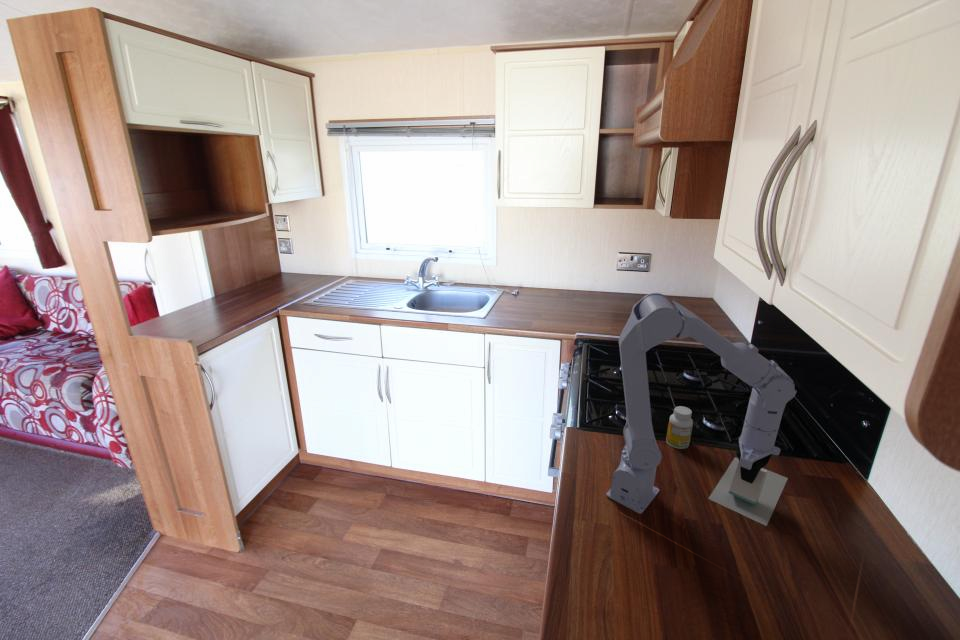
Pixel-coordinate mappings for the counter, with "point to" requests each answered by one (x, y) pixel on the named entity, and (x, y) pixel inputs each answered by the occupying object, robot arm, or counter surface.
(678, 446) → the supplement bottle
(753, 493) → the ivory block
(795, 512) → the counter surface
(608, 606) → the counter surface
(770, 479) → the grey mat
